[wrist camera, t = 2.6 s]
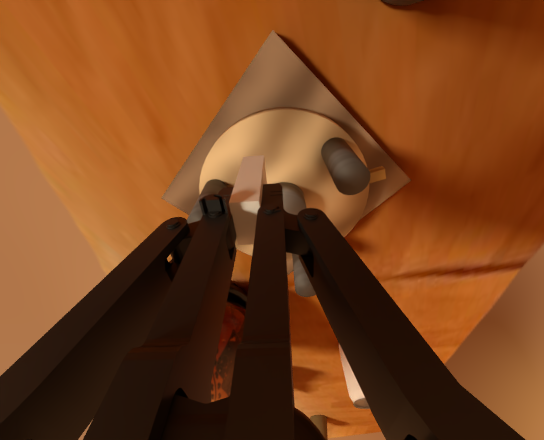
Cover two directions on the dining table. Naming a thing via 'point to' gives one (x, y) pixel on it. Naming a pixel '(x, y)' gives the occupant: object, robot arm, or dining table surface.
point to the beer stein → (401, 2)
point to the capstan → (294, 169)
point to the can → (353, 384)
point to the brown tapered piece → (320, 423)
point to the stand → (282, 93)
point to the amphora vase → (228, 343)
